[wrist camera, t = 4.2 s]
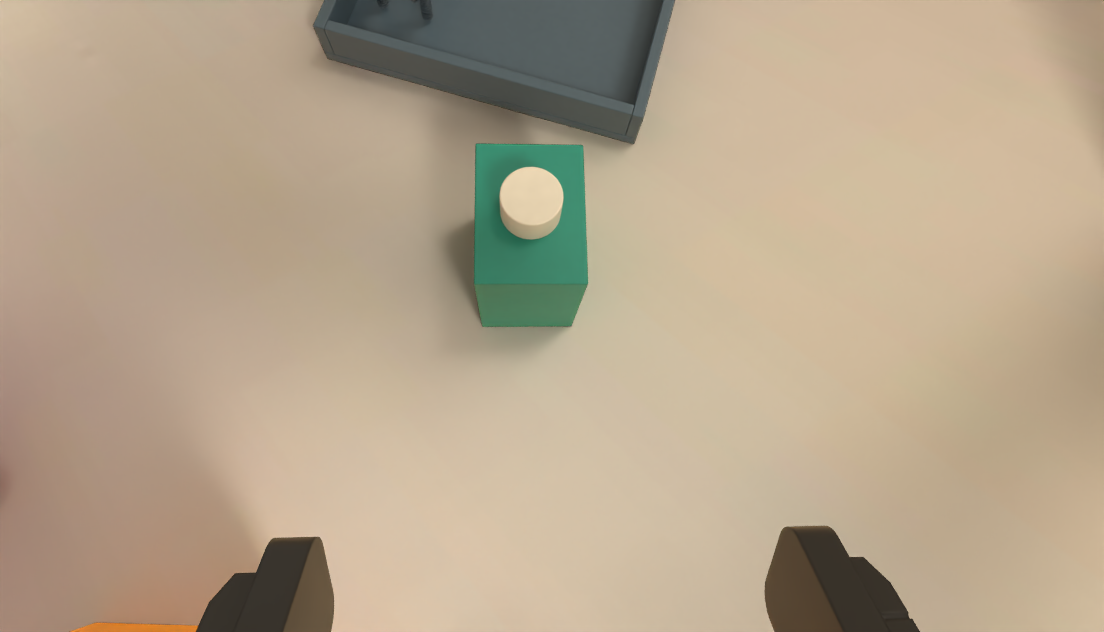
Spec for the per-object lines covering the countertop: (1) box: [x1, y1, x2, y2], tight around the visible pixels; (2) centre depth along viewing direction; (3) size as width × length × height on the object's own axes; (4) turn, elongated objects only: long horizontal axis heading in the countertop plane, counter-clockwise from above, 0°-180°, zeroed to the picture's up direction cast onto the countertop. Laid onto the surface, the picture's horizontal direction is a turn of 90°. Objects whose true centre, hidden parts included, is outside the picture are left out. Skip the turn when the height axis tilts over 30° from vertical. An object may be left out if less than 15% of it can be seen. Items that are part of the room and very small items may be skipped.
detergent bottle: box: [474, 144, 588, 327], centre depth 28 cm, size 4×6×8 cm
